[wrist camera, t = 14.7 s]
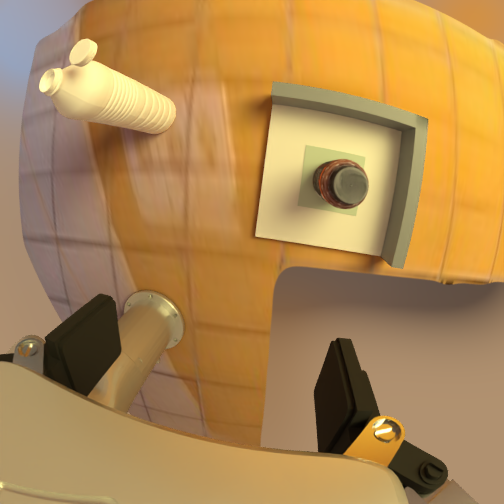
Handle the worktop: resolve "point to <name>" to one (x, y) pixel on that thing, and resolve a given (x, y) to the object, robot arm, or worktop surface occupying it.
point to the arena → (333, 148)
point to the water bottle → (105, 94)
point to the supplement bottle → (341, 183)
